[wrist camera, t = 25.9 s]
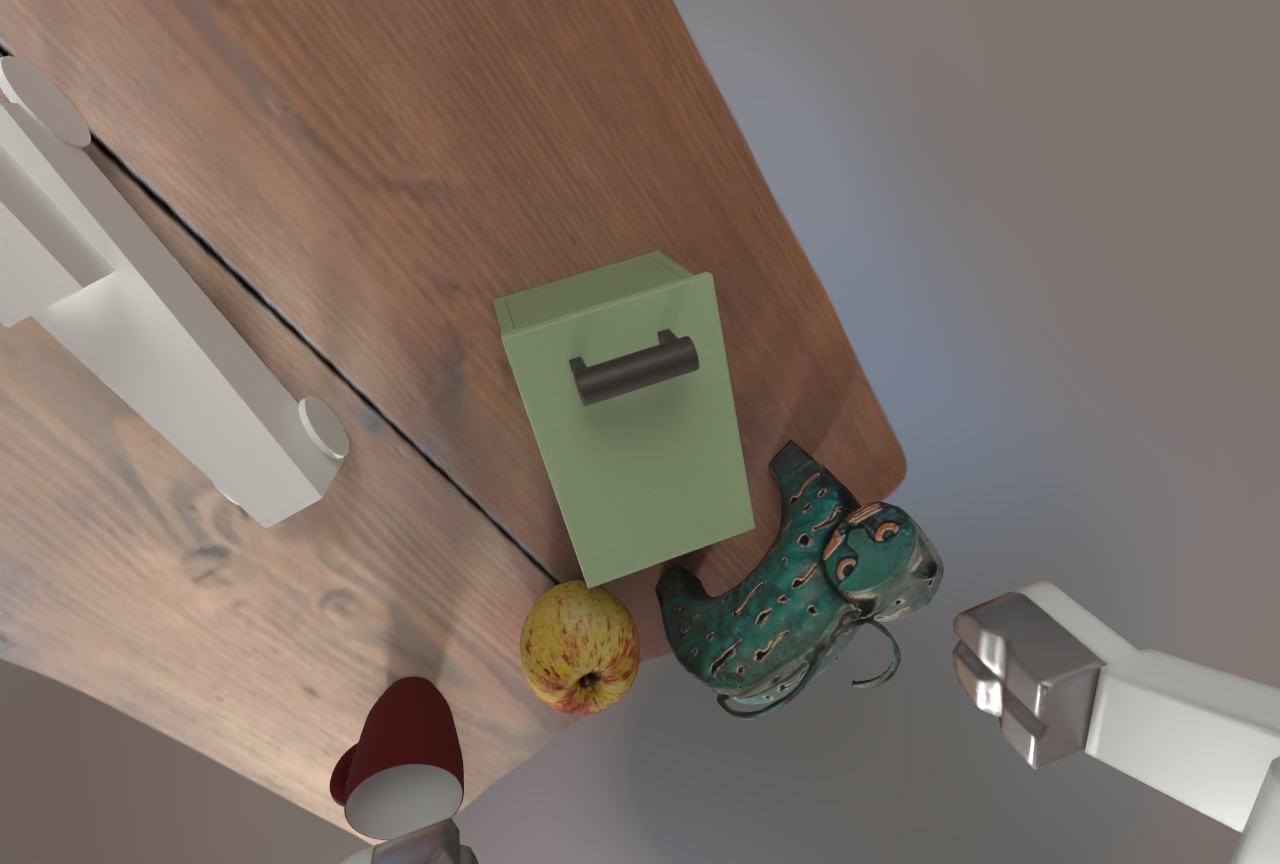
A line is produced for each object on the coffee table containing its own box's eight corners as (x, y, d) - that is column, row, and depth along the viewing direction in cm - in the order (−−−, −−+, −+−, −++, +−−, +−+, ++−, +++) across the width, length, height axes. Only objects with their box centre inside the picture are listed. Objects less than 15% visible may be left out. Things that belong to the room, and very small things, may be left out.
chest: (491, 299, 43) (504, 348, 35) (658, 249, 45) (710, 285, 36) (561, 501, 51) (585, 580, 43) (700, 454, 53) (750, 521, 44)
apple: (522, 654, 57) (537, 753, 48) (504, 572, 53) (518, 664, 44) (624, 628, 59) (656, 719, 50) (615, 547, 55) (648, 631, 46)
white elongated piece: (-90, 121, 32) (-263, 128, 24) (42, 53, 32) (-87, 38, 24) (266, 491, 45) (229, 575, 37) (358, 441, 45) (342, 514, 37)
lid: (500, 334, 34) (508, 367, 30) (707, 270, 36) (744, 293, 31) (585, 581, 43) (602, 635, 38) (750, 521, 44) (784, 567, 40)
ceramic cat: (797, 416, 54) (967, 565, 36) (841, 457, 57) (1017, 613, 40) (634, 585, 57) (719, 796, 40) (684, 615, 60) (783, 823, 43)
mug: (383, 758, 58) (373, 873, 49) (312, 714, 54) (288, 832, 45) (479, 690, 57) (487, 794, 49) (415, 641, 53) (411, 745, 45)
